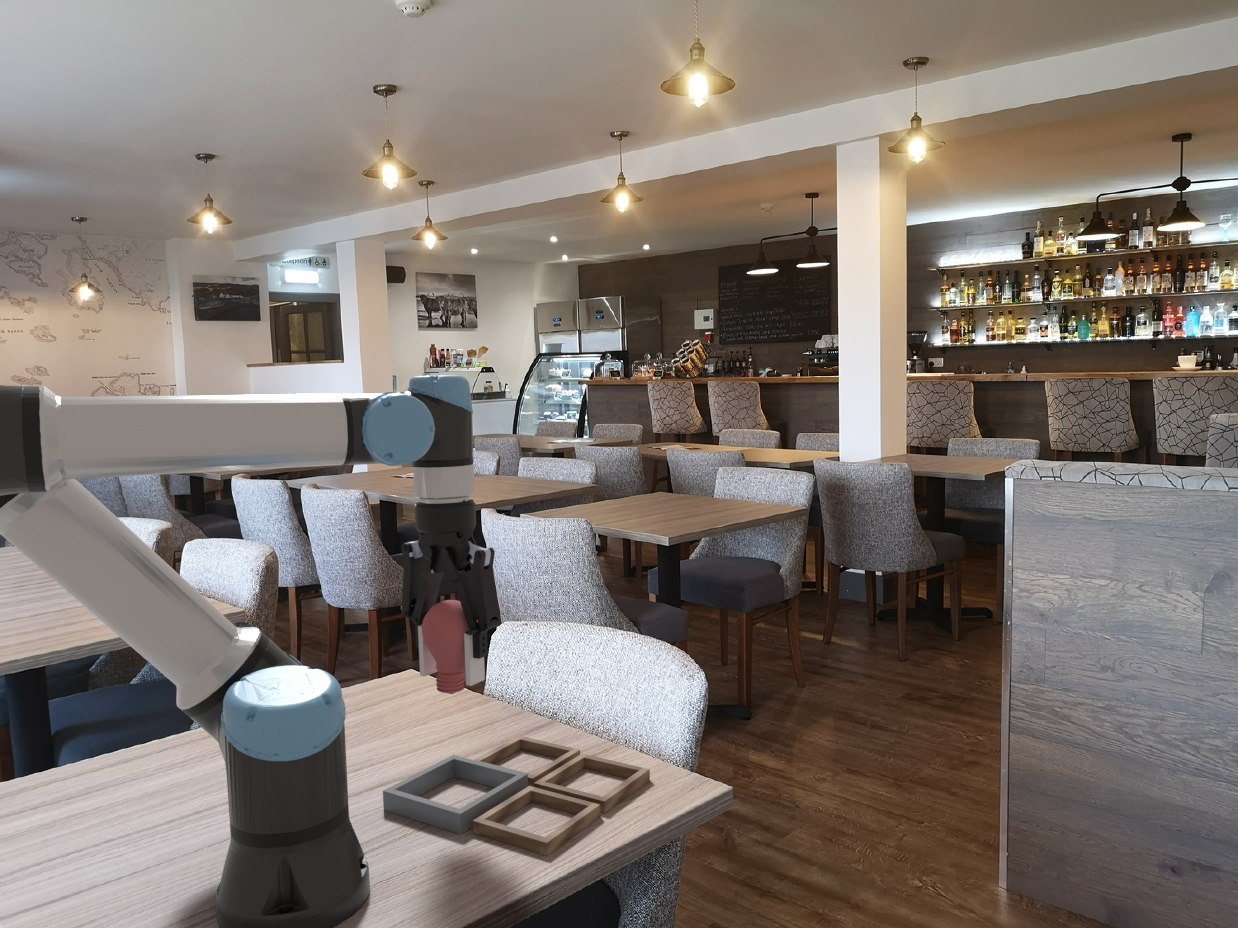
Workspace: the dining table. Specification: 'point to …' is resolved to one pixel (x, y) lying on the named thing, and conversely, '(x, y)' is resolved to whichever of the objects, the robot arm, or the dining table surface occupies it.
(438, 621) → the light bulb
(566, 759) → the frame
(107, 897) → the dining table surface
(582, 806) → the frame
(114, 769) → the dining table surface
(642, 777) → the frame
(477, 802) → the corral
